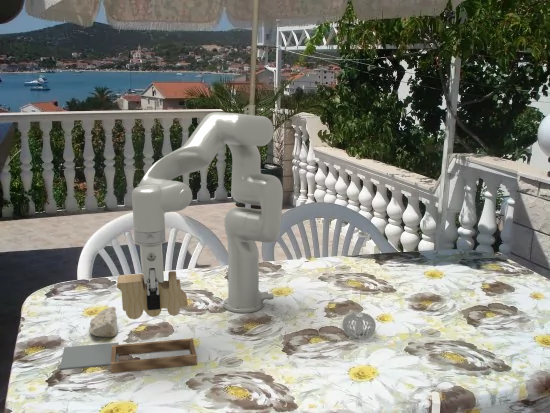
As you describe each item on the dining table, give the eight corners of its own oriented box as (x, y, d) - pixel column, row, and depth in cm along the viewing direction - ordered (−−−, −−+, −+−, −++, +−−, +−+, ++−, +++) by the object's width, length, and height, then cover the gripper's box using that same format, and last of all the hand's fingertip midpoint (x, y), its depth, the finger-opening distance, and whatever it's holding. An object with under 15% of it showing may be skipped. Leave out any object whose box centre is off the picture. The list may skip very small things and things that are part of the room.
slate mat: (118, 343, 169) (118, 342, 168) (117, 364, 157) (117, 362, 157) (64, 348, 165) (64, 347, 165) (59, 369, 154) (59, 368, 154)
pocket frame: (192, 346, 167) (192, 338, 167) (196, 364, 157) (196, 355, 157) (112, 353, 163) (111, 345, 162) (111, 372, 153) (110, 364, 152)
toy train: (188, 315, 157) (186, 277, 154) (118, 320, 154) (116, 282, 151) (187, 306, 162) (185, 270, 160) (120, 311, 159) (117, 274, 156)
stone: (89, 349, 173) (86, 327, 167) (91, 314, 182) (89, 291, 176) (117, 348, 175) (116, 325, 168) (118, 313, 184) (117, 290, 177)
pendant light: (377, 331, 178) (383, 230, 172) (371, 344, 170) (377, 239, 163) (346, 326, 181) (350, 227, 175) (338, 339, 173) (342, 235, 166)
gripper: (167, 245, 145) (170, 316, 150) (163, 225, 162) (166, 290, 166) (134, 247, 144) (138, 319, 148) (133, 227, 160) (137, 293, 165)
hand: (153, 303), depth 157 cm, fingers closed on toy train, 5 cm apart
